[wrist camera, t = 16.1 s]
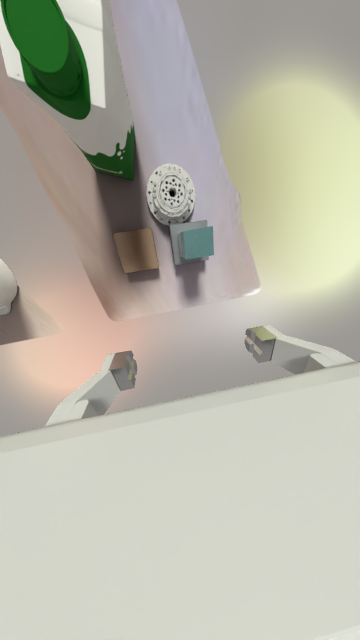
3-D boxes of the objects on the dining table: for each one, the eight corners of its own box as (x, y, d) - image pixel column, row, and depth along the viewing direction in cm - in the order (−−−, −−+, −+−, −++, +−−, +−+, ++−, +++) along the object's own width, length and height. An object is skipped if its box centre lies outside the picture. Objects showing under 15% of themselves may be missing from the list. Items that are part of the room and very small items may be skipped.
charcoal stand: (174, 263, 37) (175, 265, 34) (168, 226, 33) (169, 225, 31) (204, 258, 37) (208, 259, 35) (203, 221, 34) (206, 219, 31)
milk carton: (90, 176, 28) (-28, 55, 10) (84, 103, 24) (-124, -294, 6) (137, 187, 29) (106, 101, 12) (139, 121, 26) (96, -154, 8)
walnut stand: (126, 271, 36) (124, 273, 34) (116, 234, 33) (112, 233, 30) (158, 266, 37) (158, 267, 34) (151, 229, 33) (150, 227, 30)
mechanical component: (146, 222, 32) (189, 229, 34) (144, 219, 29) (193, 227, 30) (147, 161, 28) (197, 173, 30) (146, 147, 24) (203, 162, 26)
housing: (180, 256, 34) (186, 259, 26) (177, 234, 31) (183, 230, 24) (201, 252, 34) (213, 254, 26) (199, 230, 32) (212, 226, 24)
